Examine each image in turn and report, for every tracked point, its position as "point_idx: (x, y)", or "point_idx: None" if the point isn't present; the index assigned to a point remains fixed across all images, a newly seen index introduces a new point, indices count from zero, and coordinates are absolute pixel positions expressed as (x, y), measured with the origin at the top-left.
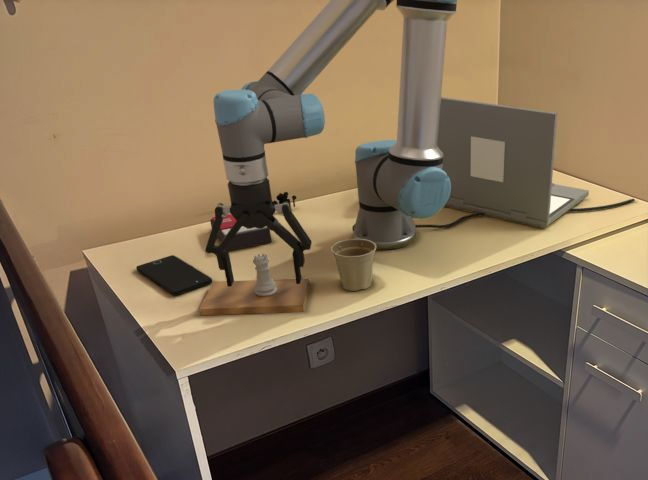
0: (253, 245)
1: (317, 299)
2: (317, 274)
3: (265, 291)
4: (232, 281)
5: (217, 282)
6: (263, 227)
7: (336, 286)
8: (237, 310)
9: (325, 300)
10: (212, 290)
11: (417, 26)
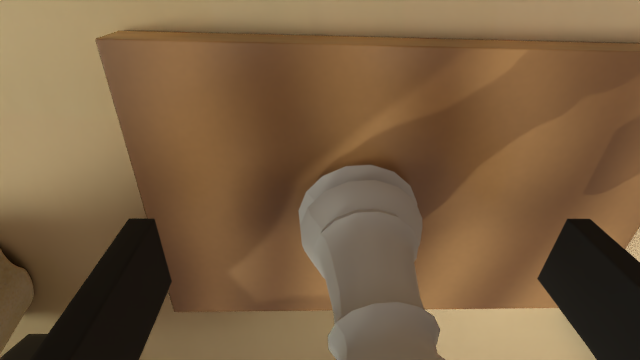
0: None
1: (96, 165)
2: (177, 344)
3: (356, 181)
4: (558, 259)
5: None
6: None
7: (56, 267)
8: (518, 44)
9: (47, 151)
10: None
11: None
